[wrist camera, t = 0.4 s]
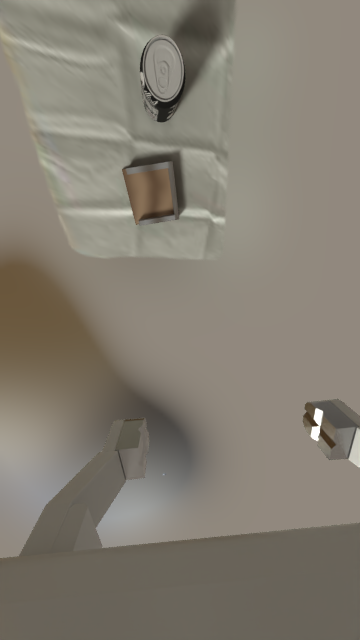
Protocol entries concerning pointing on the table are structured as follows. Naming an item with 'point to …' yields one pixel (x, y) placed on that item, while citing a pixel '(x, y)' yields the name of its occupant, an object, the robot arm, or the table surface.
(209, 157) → the table surface
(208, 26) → the table surface
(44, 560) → the robot arm
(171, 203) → the brown flat square tray
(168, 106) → the beverage can
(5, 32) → the table surface
